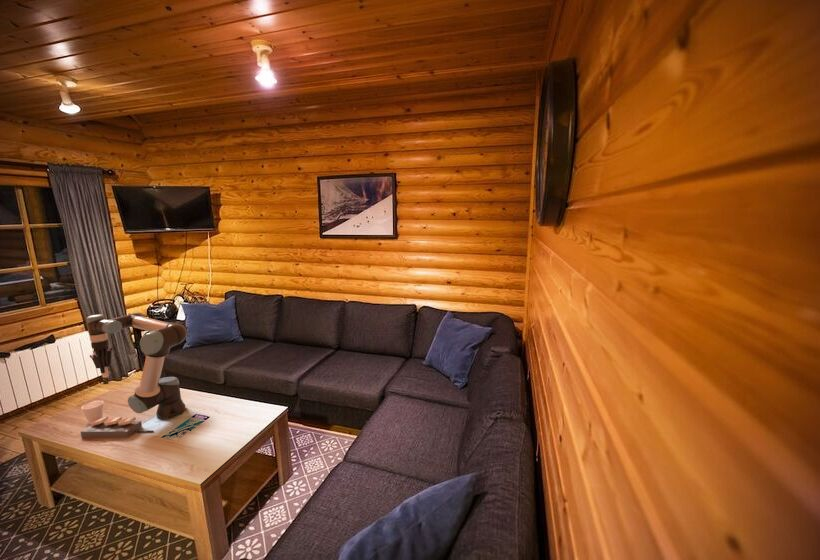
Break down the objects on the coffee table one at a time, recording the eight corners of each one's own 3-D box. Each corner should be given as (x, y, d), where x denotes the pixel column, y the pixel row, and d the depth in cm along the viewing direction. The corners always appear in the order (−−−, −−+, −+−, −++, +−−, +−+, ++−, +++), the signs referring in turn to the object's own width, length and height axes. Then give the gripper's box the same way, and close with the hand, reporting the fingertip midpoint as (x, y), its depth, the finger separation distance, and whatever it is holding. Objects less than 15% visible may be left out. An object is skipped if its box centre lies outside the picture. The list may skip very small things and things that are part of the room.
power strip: (159, 426, 197) (158, 419, 196) (146, 437, 187) (145, 429, 186) (98, 427, 197) (96, 419, 196) (81, 438, 187) (80, 429, 186)
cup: (92, 427, 197) (89, 410, 195) (79, 425, 199) (76, 408, 197) (110, 417, 206) (107, 401, 204) (98, 415, 208) (95, 399, 206)
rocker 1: (108, 418, 194) (107, 416, 194) (102, 422, 190) (100, 420, 190) (97, 422, 195) (96, 419, 194) (91, 426, 191) (89, 423, 190)
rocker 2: (122, 419, 194) (121, 416, 194) (116, 423, 190) (115, 420, 190) (111, 421, 194) (110, 419, 194) (104, 425, 191) (103, 423, 190)
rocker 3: (136, 419, 194) (135, 416, 194) (130, 423, 190) (129, 420, 190) (124, 421, 195) (123, 418, 194) (118, 425, 191) (117, 423, 190)
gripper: (102, 336, 205) (109, 372, 209) (82, 344, 192) (89, 382, 196) (115, 336, 205) (121, 372, 209) (95, 344, 192) (102, 382, 197)
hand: (105, 377), depth 203 cm, fingers closed
